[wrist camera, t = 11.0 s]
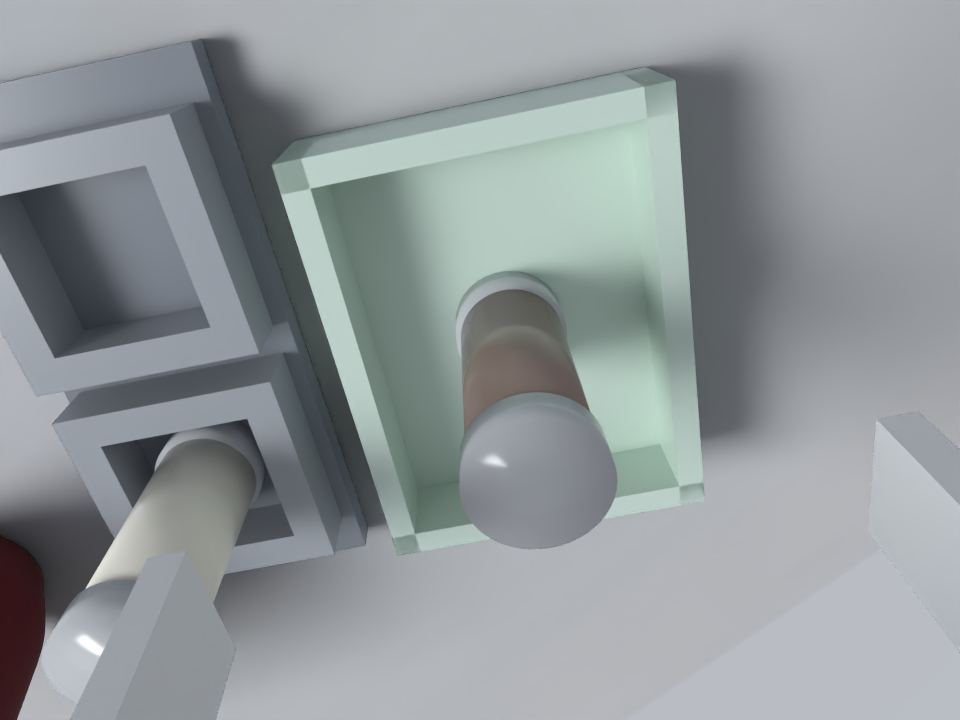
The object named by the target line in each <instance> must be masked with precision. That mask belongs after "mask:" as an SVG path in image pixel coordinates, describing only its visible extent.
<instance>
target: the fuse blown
mask: <svg viewBox="0 0 960 720" xmlns="http://www.w3.org/2000/svg"><path fill="white" fill-rule="evenodd" d="M456 343H457V349H458V352H459V354H460V357H461V359H462V385H463V411H464V436H463V438H462V442H461V445H460V450H459V482H460V498H461V503H462V506H463V509H464V511H465V513H466V515H467V517H468V518H469V520H470V521H471V522H472V524H473V525H474V526H475V527H476V528H477V529H478V530H479V531H481V532H482V533H483V534H485V535H486V536H487V537H489V538H491V539H493V540H494V541H497V542H499V543H501V544H504V545H508V546H511V547H516V548H522V549H545V548H552V547H556V546H560V545H563V544H566V543H569V542H571V541H574V540H576V539H578V538H580V537H581V536H583V535H585V534H586V533H588V532H589V531H590V530H592V529H593V528H594V527H595V526H596V525H597V524H598V523H599V522H600V521H601V520H602V519H603V518H604V517H605V515H606V514H607V513H608V511H609V509H610V508H611V506H612V503H613V501H614V499H615V495H616V491H617V483H618V480H617V471H616V466H615V463H614V460H613V457H612V454H611V451H610V448H609V446H608V443H607V440H606V437H605V434H604V432H603V429H602V427H601V425H600V424H599V422H598V420H597V419H596V418H595V417H594V415H593V414H592V413H591V412H590V409H589V406H588V403H587V400H586V397H585V394H584V391H583V388H582V385H581V382H580V379H579V376H578V373H577V370H576V367H575V364H574V361H573V358H572V355H571V352H570V349H569V346H568V343H567V326H566V322H565V318H564V315H563V312H562V310H561V307H560V304H559V301H558V299H557V297H556V295H555V294H554V292H553V291H552V290H551V288H550V287H549V286H548V285H547V284H546V283H544V282H543V281H542V280H540V279H539V278H537V277H535V276H533V275H530V274H528V273H523V272H518V271H503V272H497V273H494V274H491V275H488V276H486V277H484V278H482V279H480V280H479V281H477V282H476V283H475V284H473V285H472V286H471V287H470V288H469V289H468V290H467V292H466V293H465V294H464V296H463V297H462V299H461V301H460V303H459V305H458V309H457V312H456Z"/></svg>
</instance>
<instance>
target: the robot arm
mask: <svg viewBox="0 0 960 720" xmlns="http://www.w3.org/2000/svg"><path fill="white" fill-rule="evenodd" d="M868 533H869V534H870V536H871V537H872V538H873V540H874V541H875V542H876V543H877V545H878V546H879V547H880V549H881V550H882V551H883V553H884V554H885V555H886V556H887V558H888V559H889V560H890V562H891V563H892V564H893V566H894V567H895V568H896V570H897V571H898V572H899V574H900V575H901V576H902V578H903V579H904V580H905V581H906V583H907V584H908V585H909V587H910V588H911V589H912V591H913V592H914V593H915V594H916V596H917V597H918V599H919V600H920V601H921V602H922V604H923V605H924V606H925V608H926V609H927V610H928V612H929V613H930V614H931V616H932V617H933V618H934V619H935V621H936V622H937V623H938V624H939V626H940V627H941V629H942V630H943V631H944V633H945V634H946V635H947V637H948V638H949V639H950V640H951V642H952V643H953V644H954V646H955V647H956V648H957V649H958V651H959V652H960V449H959V448H958V447H957V446H956V445H954V444H953V443H952V442H951V441H950V440H949V439H948V438H947V437H946V436H945V435H944V434H943V433H941V432H940V431H939V430H938V429H937V428H936V427H935V426H934V425H933V424H932V423H931V422H930V421H928V420H927V419H926V418H925V417H924V416H923V415H922V414H921V413H920V412H919V411H918V412H913V413H907V414H902V415H897V416H892V417H886V418H881V419H877V420H876V433H875V446H874V459H873V473H872V486H871V499H870V512H869V526H868ZM235 651H236V647H235V645H234V643H233V641H232V639H231V637H230V635H229V633H228V632H227V630H226V628H225V626H224V624H223V622H222V620H221V618H220V616H219V614H218V612H217V610H216V608H215V606H214V604H213V602H212V600H211V598H210V596H209V594H208V593H207V591H206V589H205V587H204V585H203V583H202V581H201V579H200V577H199V575H198V573H197V571H196V569H195V567H194V565H193V563H192V561H191V559H190V557H189V555H188V554H187V552H186V551H182V552H177V553H172V554H166V555H161V556H156V557H151V558H147V560H146V562H145V564H144V566H143V568H142V571H141V573H140V575H139V577H138V579H137V581H136V583H135V585H134V587H133V589H132V591H131V593H130V596H129V598H128V600H127V602H126V604H125V606H124V608H123V610H122V612H121V614H120V616H119V618H118V621H117V623H116V625H115V627H114V629H113V631H112V633H111V635H110V637H109V639H108V641H107V643H106V646H105V648H104V650H103V652H102V654H101V656H100V658H99V660H98V662H97V664H96V666H95V668H94V671H93V673H92V675H91V677H90V679H89V681H88V683H87V685H86V687H85V689H84V691H83V693H82V696H81V698H80V700H79V702H78V704H77V706H76V708H75V710H74V712H73V714H72V716H71V718H70V720H216V717H217V714H218V710H219V707H220V703H221V700H222V696H223V693H224V689H225V686H226V682H227V679H228V675H229V672H230V668H231V665H232V661H233V658H234V654H235Z"/></svg>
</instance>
